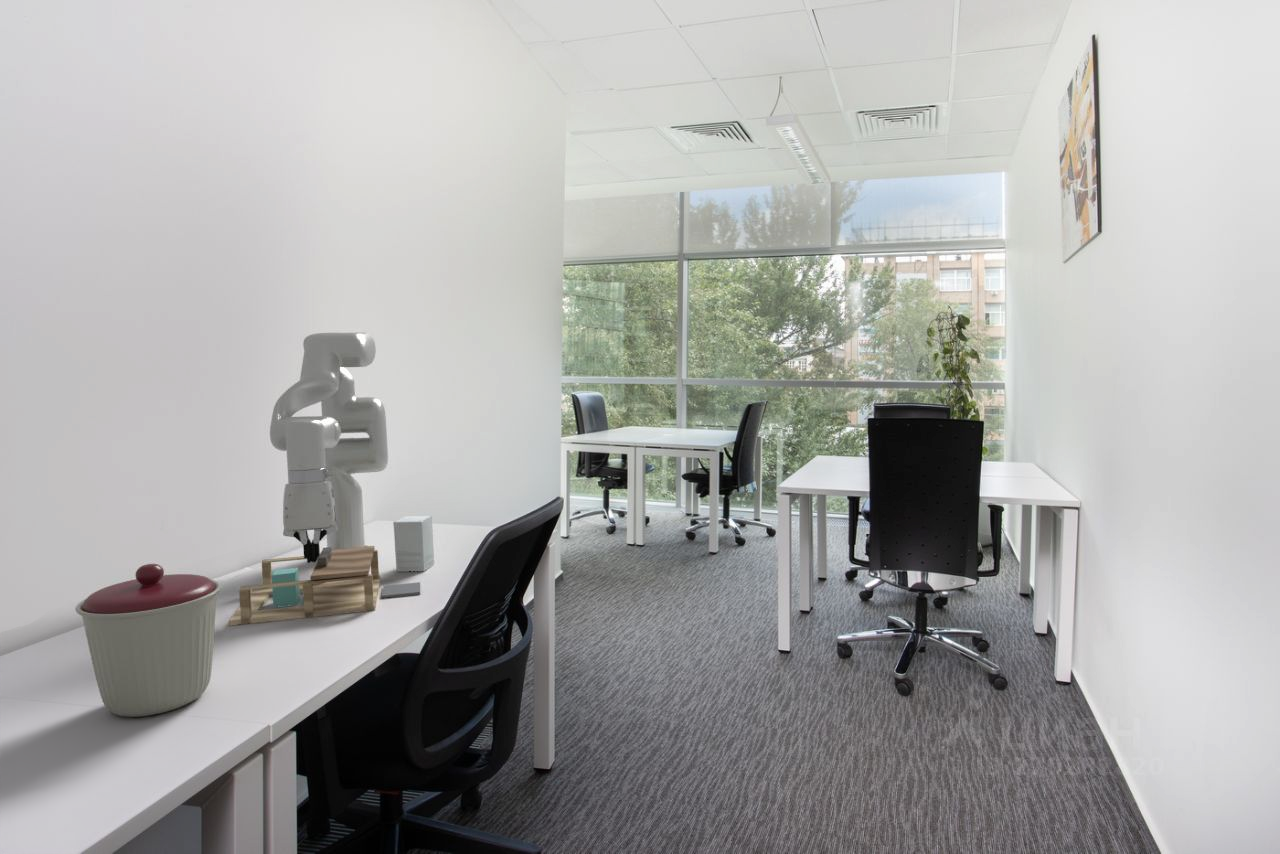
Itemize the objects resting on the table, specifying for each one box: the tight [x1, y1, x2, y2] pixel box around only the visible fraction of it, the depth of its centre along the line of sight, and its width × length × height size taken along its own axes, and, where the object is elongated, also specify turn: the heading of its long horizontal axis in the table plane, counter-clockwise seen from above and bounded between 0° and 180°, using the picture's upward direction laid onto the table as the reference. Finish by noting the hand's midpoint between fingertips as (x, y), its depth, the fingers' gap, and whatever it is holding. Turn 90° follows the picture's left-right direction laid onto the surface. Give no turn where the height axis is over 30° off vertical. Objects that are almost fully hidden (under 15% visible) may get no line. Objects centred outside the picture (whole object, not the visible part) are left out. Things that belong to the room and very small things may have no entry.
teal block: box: [272, 567, 301, 608], centre depth 160 cm, size 4×4×7 cm
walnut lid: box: [310, 545, 376, 580], centre depth 163 cm, size 24×11×3 cm, turn 17°
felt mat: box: [381, 581, 421, 599], centre depth 167 cm, size 8×8×1 cm
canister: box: [75, 563, 222, 718], centre depth 112 cm, size 18×18×21 cm
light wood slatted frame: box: [228, 549, 381, 626], centre depth 161 cm, size 24×27×7 cm
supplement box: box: [393, 515, 435, 573], centre depth 186 cm, size 7×7×13 cm
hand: (312, 560), depth 161 cm, fingers closed
